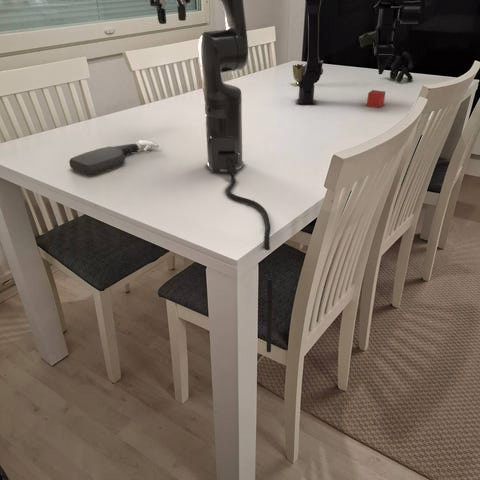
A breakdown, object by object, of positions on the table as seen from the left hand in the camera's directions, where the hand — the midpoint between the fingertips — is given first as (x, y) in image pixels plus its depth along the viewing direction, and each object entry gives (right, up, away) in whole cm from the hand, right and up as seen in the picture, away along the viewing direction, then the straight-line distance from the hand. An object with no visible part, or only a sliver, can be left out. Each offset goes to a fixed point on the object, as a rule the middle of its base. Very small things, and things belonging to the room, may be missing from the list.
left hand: (172, 22), depth 128 cm
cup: (+46, +6, +68) cm, 82 cm away
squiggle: (+91, +9, +72) cm, 117 cm away
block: (+70, -12, +39) cm, 81 cm away
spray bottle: (-15, -40, -3) cm, 43 cm away
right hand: (+70, -2, +32) cm, 77 cm away
